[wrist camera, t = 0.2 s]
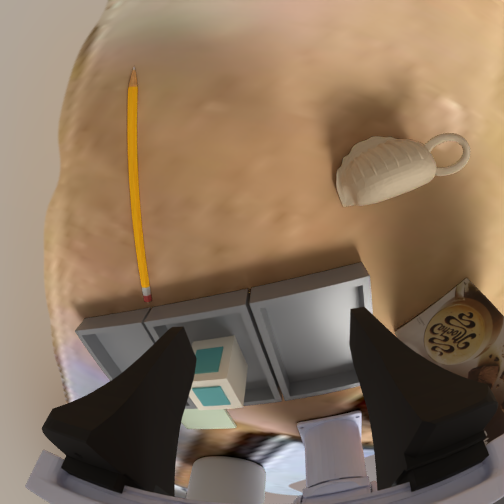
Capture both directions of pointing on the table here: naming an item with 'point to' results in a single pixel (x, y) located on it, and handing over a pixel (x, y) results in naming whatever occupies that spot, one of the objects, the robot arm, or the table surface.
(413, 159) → the decorative ornament
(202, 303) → the tray
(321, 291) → the tray
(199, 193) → the table surface
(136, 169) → the pencil
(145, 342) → the tray
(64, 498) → the robot arm
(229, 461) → the cylinder vase
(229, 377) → the letter block
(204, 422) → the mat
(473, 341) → the coffee box
